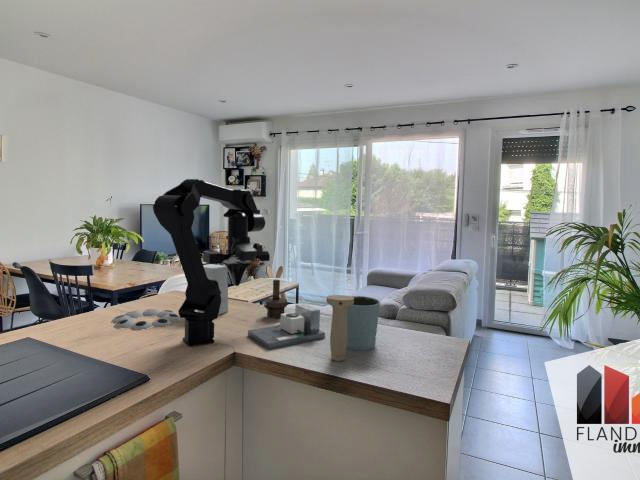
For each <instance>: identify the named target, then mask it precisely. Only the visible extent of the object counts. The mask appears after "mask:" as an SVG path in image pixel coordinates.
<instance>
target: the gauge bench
mask: <svg viewBox="0 0 640 480" xmlns="http://www.w3.org/2000/svg"><path fill="white" fill-rule="evenodd" d="M294 313H296V314H299V315H300V316H303V317H304V332H303V334H301V333H294V334H291V333H289V332H287V331H285V330H283V329H281V328H280V324H277V325H276V324H275V325H273V326H272V325H271V326H266V327H260V328H254V329H249V330H247V336H248V337H249V338H250V339H252V340H254V341H255V342H257V343H258V344H260V345H261V346H263V347H265V348H266V349H267V350H272V349H273V350H274V349H277V348H282V347H287V346H292V345H297V344H302V343H305V342H310V341H315V340H320V339H325V338H326V332H325V331H322V330H321V329H320V325H321V324H320V323H321V321H320V320H321V319H320V318H321V309H319V308H316V307H315V306H312V305H309V304H306V303H299V304H295V310H294Z"/></svg>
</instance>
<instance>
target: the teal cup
mask: <svg viewBox="0 0 640 480" xmlns="http://www.w3.org/2000/svg"><path fill="white" fill-rule="evenodd" d="M352 297H354V304H353V305H351V306H349V307H348V308H347V345H346V349H350V350H353V351H370V350H372V349H375V346H376V343H377V341H376V340H377V337H376V336H377V332H378V323H379V322H378V321H379V313H380V308H381V307H380V306H381V301H380V300H379V299H377V298H374V297H370V296H362V295H354V296H352Z"/></svg>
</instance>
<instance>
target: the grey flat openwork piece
mask: <svg viewBox="0 0 640 480" xmlns="http://www.w3.org/2000/svg"><path fill="white" fill-rule="evenodd" d="M142 316H143V317H156V318H158V319H155V320H154V321H152V322H149V321H146V320H139V321H137V322H135V321H134V319H139V318H138V317H140V318H143V317H142ZM132 318H134V319H132ZM181 319H182V318H180V316H179V314H177V313H176V312H175V311H174V310H170V309H169V310H168V309H164V310H161V311H160V310H159V309H156V308H155V309H153V308H149V309H145V310H144V311H142V312H141V311H138V310H134V311H128V312H126V313H125V314H121V315H118V316H115V317H114V318H112V320H111V321H110V322H113V323H112V324H114V325H113V328H114V327H115V329H118V328H125V329H130V330H132V329H134V330H133V331H143V330H142V329H146V330H148V329H147V328H150V327H152V326H154V327H152V328H159V327H160V328H166V326H167V327H169V326H172V324H173V323H175V322H179V321H181ZM132 320H133V321H132ZM115 323H116V324H115ZM119 323H120V324H119ZM138 324H140V325H138ZM129 327H131V328H129ZM150 329H151V328H150Z"/></svg>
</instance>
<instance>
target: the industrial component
mask: <svg viewBox="0 0 640 480" xmlns="http://www.w3.org/2000/svg"><path fill="white" fill-rule="evenodd" d="M280 283H281V281H280V279H273V280H272V297H269V298H266V299H265V300H264V302H265V303H264V304H263V307H264V308H265V309H266V311H267V314H266V315H267V317H268V318H275V319H278V318H281V314H284V313H285V309H286V308H287V306H288V305H289V303H288V300H287V299H286V298H284V297H283V298H282V297H280V291H281V289H280V288H281V287H280V286H281V284H280Z"/></svg>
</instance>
